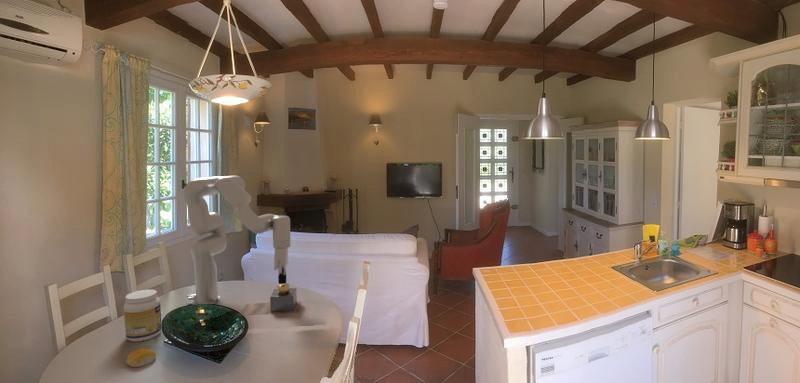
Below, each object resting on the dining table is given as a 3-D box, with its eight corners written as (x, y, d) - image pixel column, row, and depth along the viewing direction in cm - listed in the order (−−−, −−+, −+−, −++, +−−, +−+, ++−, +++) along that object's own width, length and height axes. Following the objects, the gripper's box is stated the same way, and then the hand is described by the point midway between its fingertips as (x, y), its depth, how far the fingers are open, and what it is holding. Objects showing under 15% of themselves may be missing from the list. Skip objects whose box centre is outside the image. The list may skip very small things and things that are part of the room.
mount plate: (239, 318, 171) (238, 315, 171) (246, 306, 184) (246, 303, 184) (298, 315, 174) (298, 312, 174) (301, 304, 187) (301, 301, 187)
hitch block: (270, 312, 174) (270, 297, 173) (274, 303, 184) (274, 289, 183) (293, 311, 175) (293, 296, 174) (296, 302, 185) (296, 288, 184)
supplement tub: (164, 336, 155) (161, 294, 153) (126, 346, 147) (123, 302, 145) (160, 325, 164) (157, 286, 162) (124, 333, 157) (121, 292, 155)
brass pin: (277, 307, 176) (276, 287, 175) (279, 303, 182) (278, 283, 181) (288, 307, 177) (288, 286, 176) (290, 302, 182) (290, 282, 181)
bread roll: (146, 352, 143) (146, 342, 142) (159, 359, 138) (159, 348, 138) (121, 363, 136) (120, 352, 135) (134, 370, 131) (133, 359, 131)
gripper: (276, 239, 183) (276, 277, 185) (269, 247, 168) (270, 289, 170) (292, 239, 184) (293, 277, 186) (287, 247, 169) (288, 288, 171)
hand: (282, 282), depth 178 cm, fingers closed
